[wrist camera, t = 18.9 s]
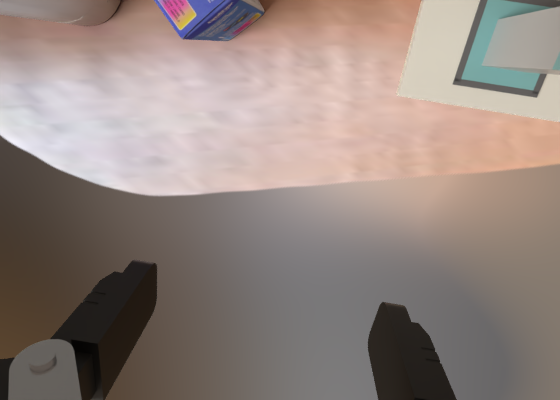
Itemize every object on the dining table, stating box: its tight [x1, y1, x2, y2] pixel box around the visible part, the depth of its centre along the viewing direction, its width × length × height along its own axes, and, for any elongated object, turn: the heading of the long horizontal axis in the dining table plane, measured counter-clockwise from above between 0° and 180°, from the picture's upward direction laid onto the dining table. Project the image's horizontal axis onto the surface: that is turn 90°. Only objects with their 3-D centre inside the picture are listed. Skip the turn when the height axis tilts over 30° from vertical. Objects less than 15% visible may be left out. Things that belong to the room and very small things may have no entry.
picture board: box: [396, 0, 560, 122], centre depth 32 cm, size 18×16×1 cm
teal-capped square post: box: [482, 7, 560, 75], centre depth 26 cm, size 4×4×14 cm
